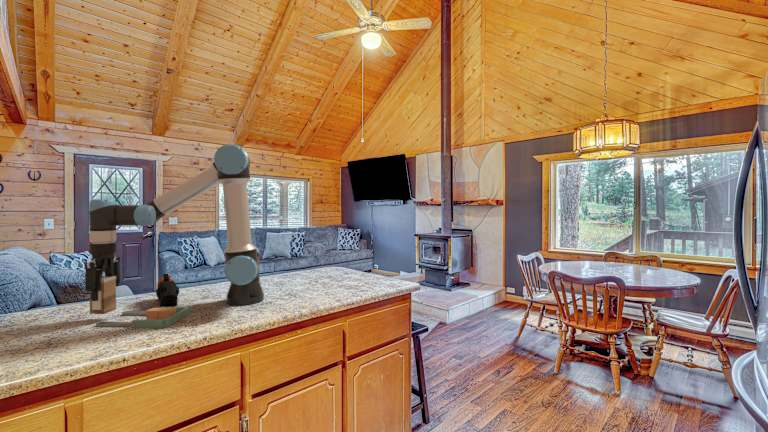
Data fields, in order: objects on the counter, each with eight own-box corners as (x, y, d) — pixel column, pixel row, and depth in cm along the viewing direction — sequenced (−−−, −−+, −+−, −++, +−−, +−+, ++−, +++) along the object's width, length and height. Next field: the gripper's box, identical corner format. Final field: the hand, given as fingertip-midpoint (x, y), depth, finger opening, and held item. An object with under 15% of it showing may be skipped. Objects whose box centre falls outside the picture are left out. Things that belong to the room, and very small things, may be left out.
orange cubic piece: (164, 318, 129) (164, 307, 129) (157, 322, 125) (157, 310, 125) (153, 318, 129) (153, 307, 129) (146, 322, 125) (146, 310, 125)
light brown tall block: (116, 309, 129) (116, 276, 129) (104, 314, 124) (104, 279, 123) (102, 309, 129) (101, 276, 129) (89, 313, 124) (89, 279, 123)
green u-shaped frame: (190, 313, 135) (190, 306, 135) (165, 327, 119) (165, 320, 119) (161, 313, 135) (161, 306, 135) (132, 327, 119) (132, 320, 119)
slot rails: (157, 313, 134) (157, 311, 134) (131, 326, 120) (131, 323, 120) (125, 313, 134) (125, 311, 134) (95, 326, 120) (95, 323, 120)
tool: (157, 328, 139) (156, 296, 134) (154, 294, 156) (154, 265, 151) (181, 324, 143) (181, 293, 138) (176, 292, 160) (176, 263, 155)
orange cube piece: (176, 318, 129) (175, 307, 129) (169, 322, 125) (169, 311, 125) (165, 318, 129) (164, 307, 129) (158, 322, 125) (158, 311, 125)
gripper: (112, 239, 135) (112, 299, 136) (69, 245, 116) (70, 314, 117) (132, 240, 135) (132, 300, 136) (92, 245, 117) (93, 315, 117)
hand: (103, 306), depth 127 cm, fingers closed on light brown tall block, 5 cm apart
